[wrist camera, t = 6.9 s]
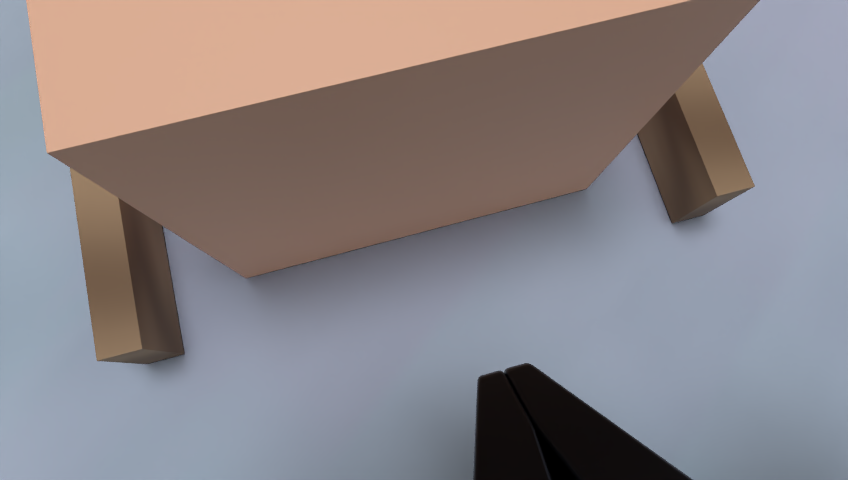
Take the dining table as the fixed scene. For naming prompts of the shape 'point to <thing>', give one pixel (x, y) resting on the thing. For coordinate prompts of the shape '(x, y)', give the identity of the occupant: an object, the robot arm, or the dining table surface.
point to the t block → (353, 108)
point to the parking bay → (148, 263)
